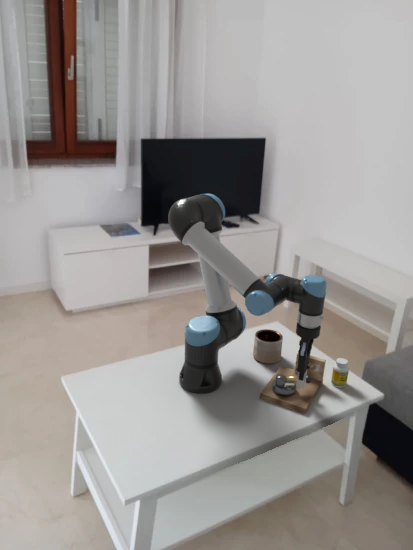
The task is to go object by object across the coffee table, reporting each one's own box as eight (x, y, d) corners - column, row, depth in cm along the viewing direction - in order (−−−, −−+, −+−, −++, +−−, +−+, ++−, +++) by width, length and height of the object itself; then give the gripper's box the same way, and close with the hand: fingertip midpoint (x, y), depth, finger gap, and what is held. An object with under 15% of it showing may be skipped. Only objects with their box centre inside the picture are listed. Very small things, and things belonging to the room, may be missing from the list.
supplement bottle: (337, 378, 174) (341, 355, 170) (349, 385, 170) (353, 362, 166) (327, 382, 171) (331, 359, 168) (339, 389, 167) (342, 366, 163)
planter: (282, 365, 181) (284, 343, 177) (254, 364, 181) (255, 342, 177) (278, 350, 191) (281, 329, 187) (251, 349, 191) (253, 328, 187)
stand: (259, 398, 161) (261, 372, 157) (280, 370, 177) (283, 347, 174) (305, 413, 154) (308, 388, 150) (322, 383, 170) (326, 359, 166)
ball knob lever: (274, 397, 158) (275, 382, 156) (270, 383, 166) (271, 369, 163) (313, 397, 159) (315, 383, 157) (307, 383, 166) (309, 369, 164)
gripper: (317, 334, 144) (307, 399, 152) (324, 317, 155) (315, 379, 163) (292, 329, 146) (285, 393, 155) (301, 313, 158) (293, 373, 166)
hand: (300, 386), depth 159 cm, fingers closed
